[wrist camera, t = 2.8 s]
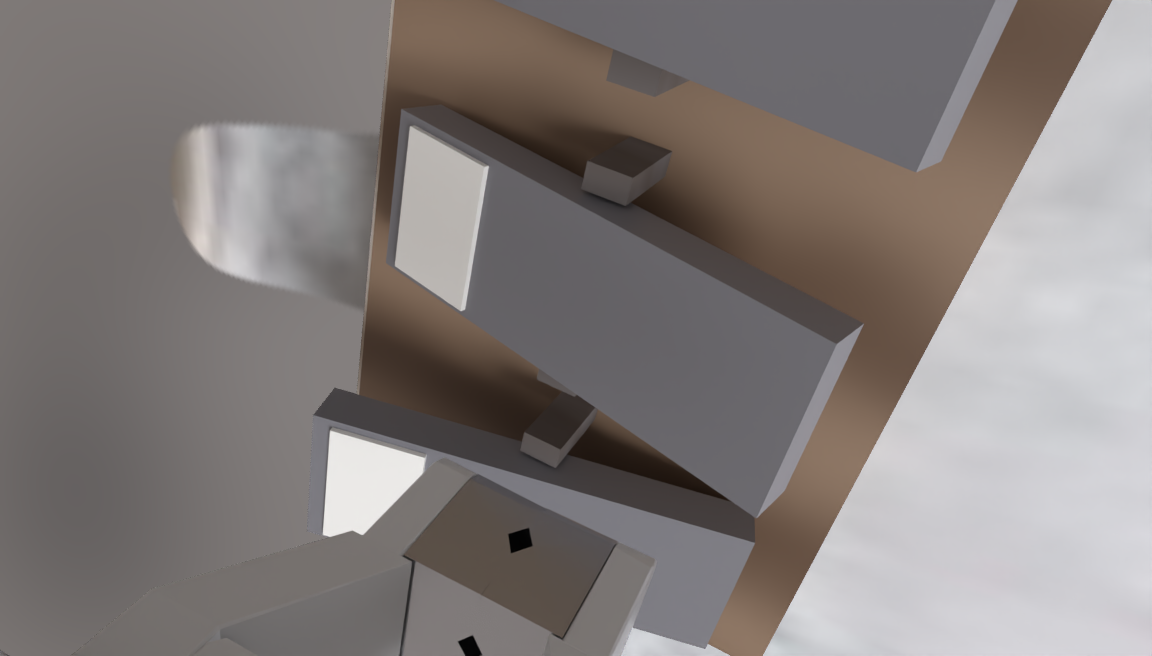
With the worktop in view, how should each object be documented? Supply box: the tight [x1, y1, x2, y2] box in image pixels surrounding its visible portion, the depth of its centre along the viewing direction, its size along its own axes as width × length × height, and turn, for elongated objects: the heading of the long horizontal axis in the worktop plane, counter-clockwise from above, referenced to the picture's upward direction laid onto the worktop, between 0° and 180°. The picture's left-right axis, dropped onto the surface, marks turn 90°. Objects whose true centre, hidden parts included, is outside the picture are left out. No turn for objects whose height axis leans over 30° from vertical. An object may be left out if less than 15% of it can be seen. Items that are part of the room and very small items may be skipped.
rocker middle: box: [386, 105, 864, 518], centre depth 17 cm, size 4×11×1 cm, turn 77°
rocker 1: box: [307, 388, 755, 649], centre depth 21 cm, size 4×11×1 cm, turn 77°
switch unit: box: [357, 0, 1112, 656], centre depth 19 cm, size 21×14×5 cm
